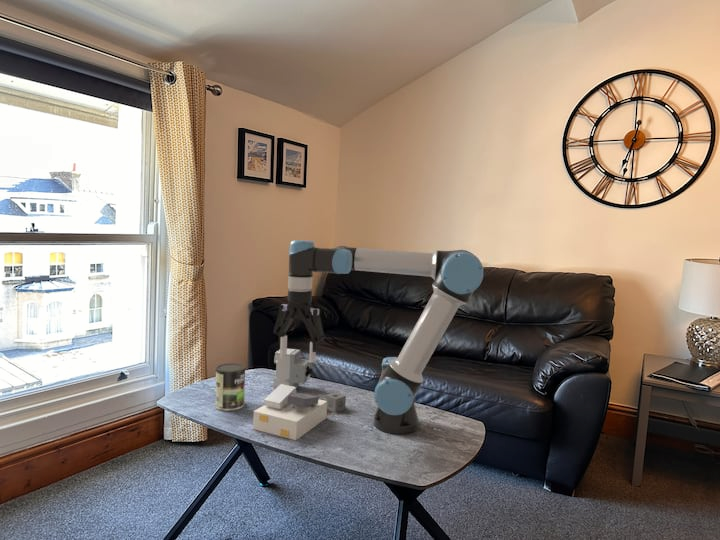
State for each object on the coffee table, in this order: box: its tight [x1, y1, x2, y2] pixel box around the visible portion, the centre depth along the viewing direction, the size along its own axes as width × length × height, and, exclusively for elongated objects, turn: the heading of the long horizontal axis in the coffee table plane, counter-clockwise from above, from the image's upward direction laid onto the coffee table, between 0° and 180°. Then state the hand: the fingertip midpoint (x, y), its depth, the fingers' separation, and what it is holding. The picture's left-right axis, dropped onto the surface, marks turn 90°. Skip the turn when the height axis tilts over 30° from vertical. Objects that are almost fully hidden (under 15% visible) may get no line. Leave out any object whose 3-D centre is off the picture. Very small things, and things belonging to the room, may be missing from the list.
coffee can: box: [214, 362, 246, 412], centre depth 176 cm, size 10×10×14 cm
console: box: [252, 398, 328, 441], centre depth 164 cm, size 16×20×7 cm
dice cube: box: [325, 391, 347, 414], centre depth 179 cm, size 5×5×5 cm
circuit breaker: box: [272, 348, 314, 390], centre depth 197 cm, size 8×14×15 cm, turn 78°
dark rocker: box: [287, 393, 320, 407], centre depth 162 cm, size 6×10×2 cm, turn 156°
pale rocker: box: [263, 384, 297, 410], centre depth 164 cm, size 6×10×2 cm, turn 156°
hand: (297, 358), depth 157 cm, fingers open, 10 cm apart
